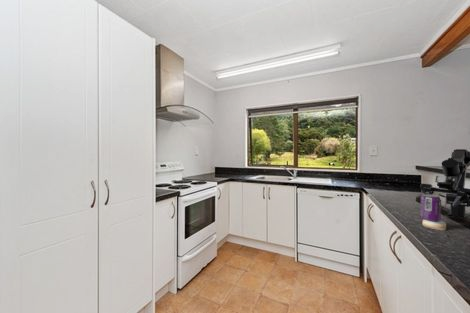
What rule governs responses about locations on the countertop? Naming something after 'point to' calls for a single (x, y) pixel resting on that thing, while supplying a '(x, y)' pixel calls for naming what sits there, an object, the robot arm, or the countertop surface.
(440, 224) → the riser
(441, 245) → the countertop surface
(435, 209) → the beverage can
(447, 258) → the countertop surface
